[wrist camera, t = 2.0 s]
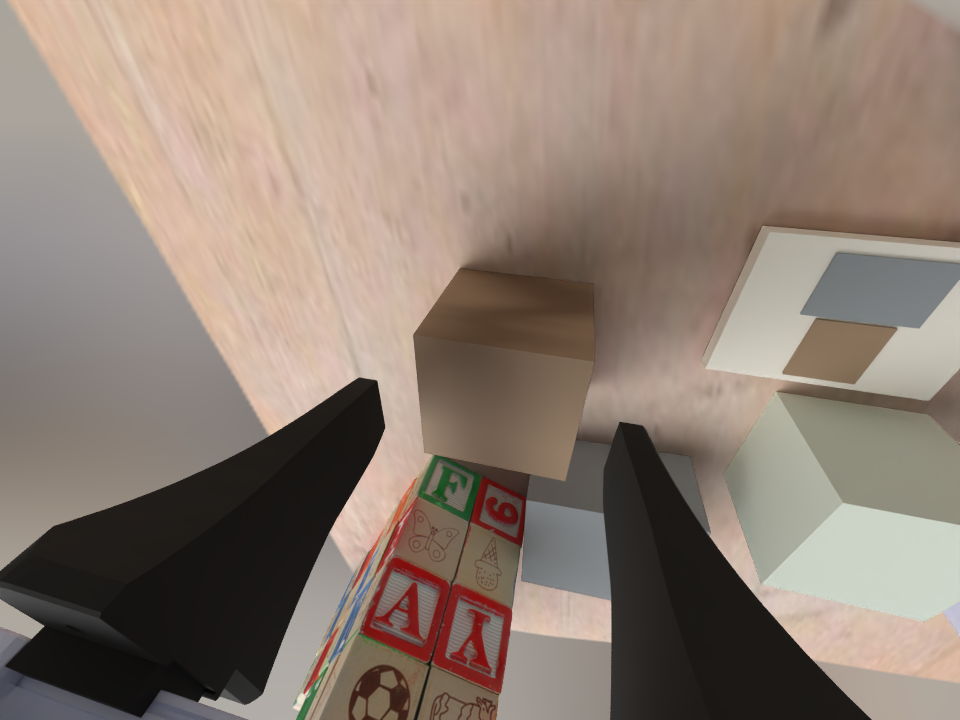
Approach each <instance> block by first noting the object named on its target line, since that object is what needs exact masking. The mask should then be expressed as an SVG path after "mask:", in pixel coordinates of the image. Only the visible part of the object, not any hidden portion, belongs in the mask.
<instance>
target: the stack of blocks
mask: <svg viewBox="0 0 960 720" xmlns="http://www.w3.org/2000/svg"><path fill="white" fill-rule="evenodd" d="M526 499H527V498H525V497H523V496H521V495H519V494H517V493H515V492H513V491H511V490H509V489H507V488H505V487H503V486H501V485H499V484H497V483H495V482H493V481H491V480H489V479H487V478H485V477H482V476H480V475H478V474H476V473H474V472H472V471H470V470H468V469H466V468H464V467H462V466H460V465H458V464H456V463H454V462H452V461H450V460H448V459H446V458H444V457H443V456H438V455H433V456H432V457H431V459H430V460H429V462H428V463H427V465H426V466H425V468H424V469H423V471H422V472H421V474H420V475H419V477H418V478H416V479H415V480H414V482H413V483H412V485H411V486H410V488H409V489H408V491H407V492H406V494H405V495H404V497H403V498H402V500H401V501H400V503H399V504H398V505H397V507H396V508H395V510H394V512H393V513H392V515H391V516H390V518H389V519H388V522H387V524H386V526H385V528H384V530H383V531H382V533H381V534H380V536H379V538H378V540H377V542H376V543H375V545H374V546H373V548H372V549H371V551H370V553H367V554H366V556H365V557H364V559H363V560H362V562H361V563H360V565H359V566H358V569H357V570H356V572H355V573H354V575H353V577H352V579H351V581H350V583H349V585H348V588H347V590H346V592H345V594H344V596H343V598H342V600H341V602H340V605H339V606H338V608H337V611H336V613H335V615H334V616H333V618H332V620H331V623H330V625H329V627H328V629H327V631H326V633H325V635H324V637H323V639H322V642H321V644H320V646H319V648H318V650H317V652H316V655H315V656H316V658H315V660H314V662H313V664H312V666H311V669H310V671H309V673H308V675H307V677H306V679H305V681H304V683H303V686H302V688H301V690H300V692H299V694H298V696H297V698H296V700H295V702H294V705H293V707H292V708H294V709H296V710H298V711H300V712H299V714H298V716H297V719H296V720H496V716H497V707H498V695H499V694H500V693H501V689H502V684H503V678H504V671H505V665H506V657H507V650H508V643H509V636H510V627H511V621H512V606H513V600H514V591H515V582H516V576H517V570H518V563H519V556H520V548H521V547H522V542H523V534H524V527H525V514H526Z"/></svg>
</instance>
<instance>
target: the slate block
mask: <svg viewBox="0 0 960 720" xmlns="http://www.w3.org/2000/svg"><path fill="white" fill-rule="evenodd" d="M611 446H612V445H607V444H600V443H593V442H586V441H580V440H575V444H574V448H573V452H572V456H571V460H570V464H569V468H568V472H567V476H566V480H565V481H562V480H557V479H552V478H547V477H542V476H537V475H532V474H530V479H529V485H528V492H527V499H526V514H525V530H524V545H523V561H522V577H521V581H524V582H528V583H533V584H538V585H542V586H547V587H551V588H556V589H560V590H565V591H570V592H574V593H579V594H583V595H588V596H592V597H597V598H602V599H606V600H611V586H610V575H609V565H608V554H607V544H606V534H605V523H604V512H603V473H604V466H605V464H606V461H607V458H608V455H609V452H610V449H611ZM658 454H659V456H660V458H661V460H662V462H663V463H664V465H665V467H666V469H667V470H668V472H669V474H670V476H671V477H672V479H673V481H674V482H675V484H676V486H677V487H678V489H679V491H680V492H681V494H682V496H683V497H684V499H685V501H686V502H687V504H688V505H689V507H690V508H691V510H692V511H693V513H694V515H695V516H696V518H697V519H698V520H699V522H700V523H701V525H702V526H703V528H704V529H705V531H706V532H707V534H708V535H710V533H711V531H710V527H709V524H708V520H707V516H706V513H705V509H704V506H703V502H702V498H701V495H700V491H699V487H698V484H697V480H696V477H695V473H694V469H693V466H692V462H691V459H690V456H684V455H677V454H670V453H663V452H658Z"/></svg>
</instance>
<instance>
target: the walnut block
mask: <svg viewBox="0 0 960 720" xmlns="http://www.w3.org/2000/svg"><path fill="white" fill-rule="evenodd" d="M413 338H414V349H415V359H416V370H417V381H418V391H419V402H420V412H421V423H422V434H423V444H424V453H428V454H433V455H438V456H443V457H448V458H453V459H458V460H463V461H468V462H473V463H478V464H483V465H488V466H493V467H497V468H502V469H507V470H512V471H517V472H522V473H527V474H532V475H537V476H542V477H547V478H552V479H557V480H562V481H565V480H566V476H567V472H568V468H569V464H570V460H571V456H572V452H573V448H574V444H575V440H576V436H577V432H578V428H579V424H580V420H581V416H582V412H583V408H584V404H585V400H586V396H587V392H588V388H589V384H590V380H591V376H592V372H593V368H594V364H595V340H594V294H593V284H591V283H582V282H574V281H565V280H556V279H547V278H539V277H530V276H521V275H513V274H504V273H495V272H486V271H478V270H469V269H459V270H458V272H457V273H456V275H455V276H454V277H453V279H452V280H451V282H450V283H449V285H448V286H447V287H446V289H445V290H444V292H443V293H442V294H441V296H440V297H439V299H438V300H437V302H436V303H435V304H434V306H433V307H432V309H431V310H430V312H429V313H428V314H427V316H426V317H425V319H424V320H423V322H422V323H421V324H420V326H419V327H418V329H417V330H416V332H415V333H414V334H413Z"/></svg>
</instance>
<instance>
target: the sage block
mask: <svg viewBox="0 0 960 720" xmlns="http://www.w3.org/2000/svg"><path fill="white" fill-rule="evenodd" d="M723 474H724V477H725V480H726V483H727V486H728V489H729V492H730V495H731V498H732V501H733V504H734V507H735V509H736V512H737V515H738V518H739V521H740V524H741V527H742V530H743V533H744V536H745V539H746V542H747V545H748V547H749V550H750V553H751V556H752V559H753V562H754V565H755V568H756V571H757V574H758V577H759V580H760V582H761V584H762V585H766V586H770V587H775V588H779V589H783V590H788V591H792V592H797V593H801V594H805V595H810V596H814V597H818V598H823V599H827V600H831V601H836V602H840V603H844V604H849V605H853V606H858V607H862V608H866V609H871V610H875V611H879V612H884V613H888V614H892V615H897V616H901V617H905V618H910V619H914V620H919V621H923V622H925V621H926V620H928V619H930V618H932V617H933V616H935V615H937V614H939V613H941V612H942V611H944V610H946V609H948V608H950V607H951V606H953V605H955V604H957V603H958V602H960V445H959V444H958V443H957V442H956V441H955V440H954V439H953V438H952V437H951V436H950V435H949V434H948V433H947V432H946V431H945V430H944V429H943V428H942V427H941V426H940V425H939V424H938V423H937V422H936V421H935V420H934V419H933V418H932V417H931V416H930V415H928V414H922V413H915V412H908V411H902V410H895V409H889V408H882V407H875V406H869V405H862V404H855V403H849V402H842V401H835V400H829V399H822V398H816V397H809V396H802V395H796V394H789V393H782V392H775V393H774V395H773V397H772V398H771V400H770V401H769V403H768V404H767V406H766V408H765V409H764V411H763V412H762V414H761V415H760V417H759V419H758V420H757V422H756V423H755V425H754V426H753V428H752V430H751V431H750V433H749V434H748V436H747V437H746V439H745V441H744V442H743V444H742V445H741V447H740V448H739V450H738V451H737V453H736V455H735V456H734V458H733V459H732V461H731V462H730V464H729V466H728V467H727V469H726V470H725V472H724V473H723Z"/></svg>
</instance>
